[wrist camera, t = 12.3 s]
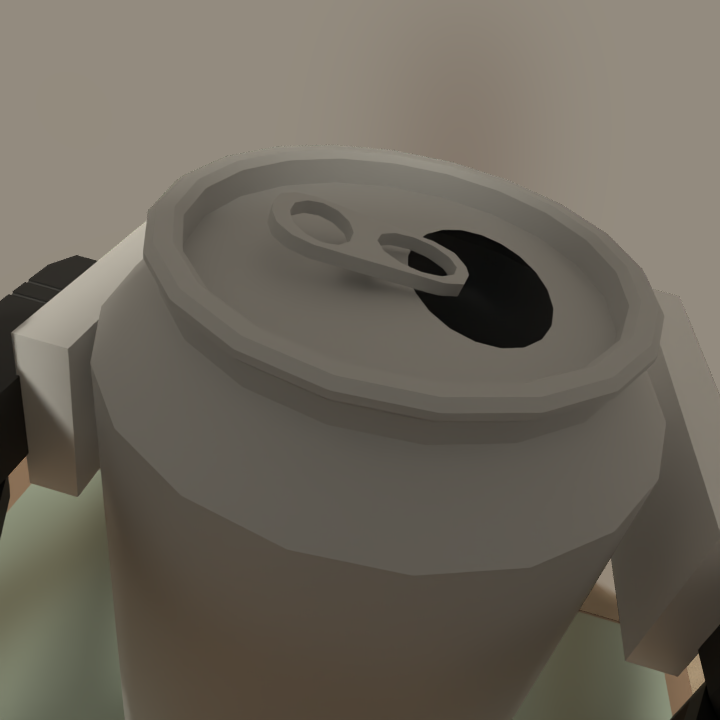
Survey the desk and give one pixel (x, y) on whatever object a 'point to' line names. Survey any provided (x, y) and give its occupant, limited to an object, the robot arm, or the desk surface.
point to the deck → (99, 639)
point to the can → (364, 437)
